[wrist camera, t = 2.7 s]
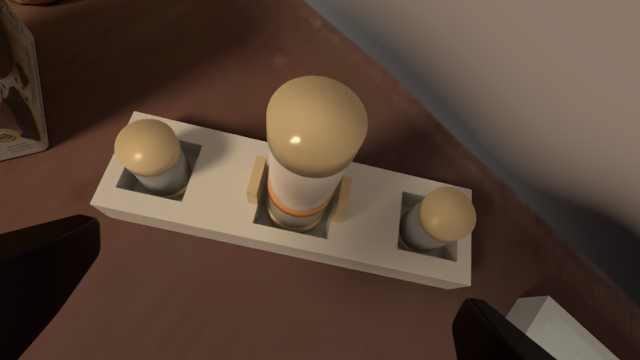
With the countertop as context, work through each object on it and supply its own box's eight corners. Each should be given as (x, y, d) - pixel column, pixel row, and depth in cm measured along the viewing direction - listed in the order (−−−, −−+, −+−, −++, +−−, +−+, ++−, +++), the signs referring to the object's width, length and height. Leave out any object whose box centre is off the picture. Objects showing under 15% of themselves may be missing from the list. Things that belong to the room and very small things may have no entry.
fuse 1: (146, 204, 19) (114, 174, 15) (145, 161, 20) (114, 121, 16) (196, 197, 20) (178, 166, 16) (192, 155, 21) (175, 116, 17)
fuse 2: (401, 259, 20) (434, 243, 16) (388, 216, 21) (416, 190, 17) (441, 251, 21) (484, 234, 17) (428, 209, 22) (465, 183, 18)
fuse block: (448, 289, 21) (491, 282, 17) (111, 217, 19) (70, 191, 15) (451, 202, 23) (489, 178, 19) (148, 133, 22) (121, 91, 18)
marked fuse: (270, 239, 20) (273, 169, 11) (263, 184, 21) (260, 78, 12) (328, 230, 20) (378, 158, 11) (317, 177, 22) (355, 73, 12)
